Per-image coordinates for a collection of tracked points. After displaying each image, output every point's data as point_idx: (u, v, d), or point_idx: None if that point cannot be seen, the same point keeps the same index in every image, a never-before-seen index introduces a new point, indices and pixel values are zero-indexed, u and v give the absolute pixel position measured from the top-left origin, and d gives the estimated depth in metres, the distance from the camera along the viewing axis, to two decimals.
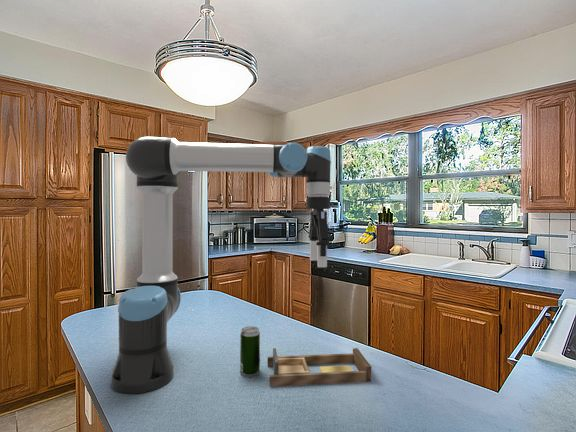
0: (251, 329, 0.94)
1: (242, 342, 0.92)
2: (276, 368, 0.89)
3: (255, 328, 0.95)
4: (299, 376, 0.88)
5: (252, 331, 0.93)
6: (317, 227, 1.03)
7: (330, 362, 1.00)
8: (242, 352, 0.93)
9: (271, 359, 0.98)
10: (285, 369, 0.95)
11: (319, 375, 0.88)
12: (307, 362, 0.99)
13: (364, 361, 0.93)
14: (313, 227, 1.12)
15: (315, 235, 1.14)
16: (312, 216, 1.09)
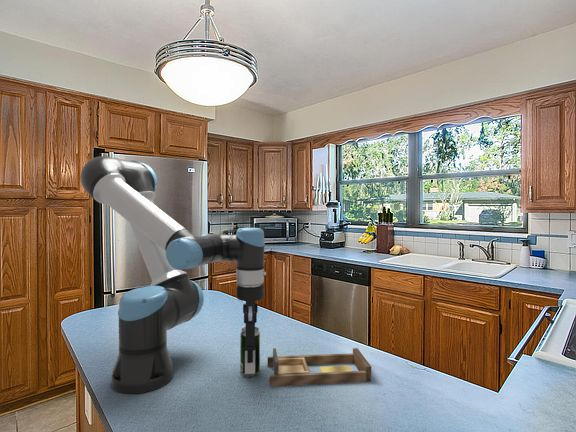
0: None
1: (242, 342, 0.92)
2: (276, 368, 0.89)
3: (255, 328, 0.95)
4: (299, 376, 0.88)
5: None
6: None
7: (330, 362, 1.00)
8: (242, 352, 0.93)
9: (271, 359, 0.98)
10: (285, 369, 0.95)
11: (319, 375, 0.88)
12: (307, 362, 0.99)
13: (364, 361, 0.93)
14: None
15: None
16: (244, 305, 0.95)
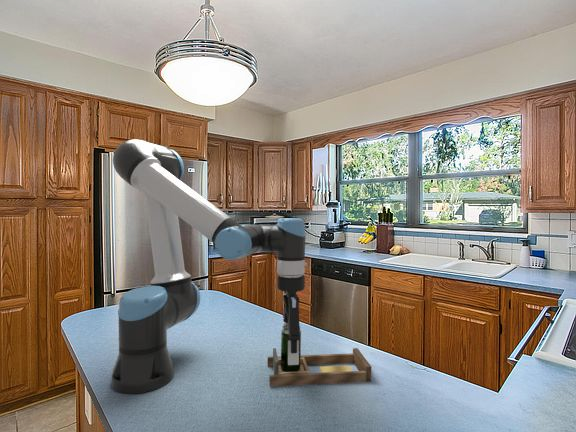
0: None
1: (284, 340, 0.92)
2: (276, 368, 0.89)
3: None
4: (299, 376, 0.88)
5: None
6: (288, 315, 0.89)
7: (330, 362, 1.00)
8: (284, 350, 0.92)
9: (271, 359, 0.98)
10: None
11: (319, 375, 0.88)
12: (307, 362, 0.99)
13: (364, 361, 0.93)
14: None
15: None
16: (284, 297, 0.94)
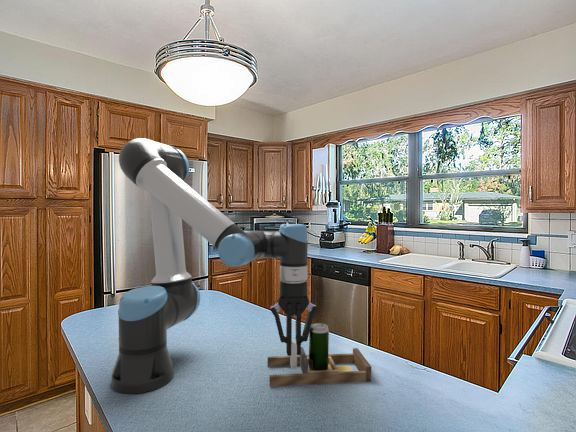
0: (320, 326, 0.95)
1: (312, 339, 0.93)
2: (306, 367, 0.90)
3: (323, 325, 0.96)
4: (299, 376, 0.88)
5: (322, 328, 0.93)
6: (286, 319, 0.94)
7: None
8: (312, 349, 0.93)
9: (271, 359, 0.98)
10: None
11: (319, 375, 0.88)
12: None
13: (364, 361, 0.93)
14: None
15: (296, 332, 0.93)
16: None
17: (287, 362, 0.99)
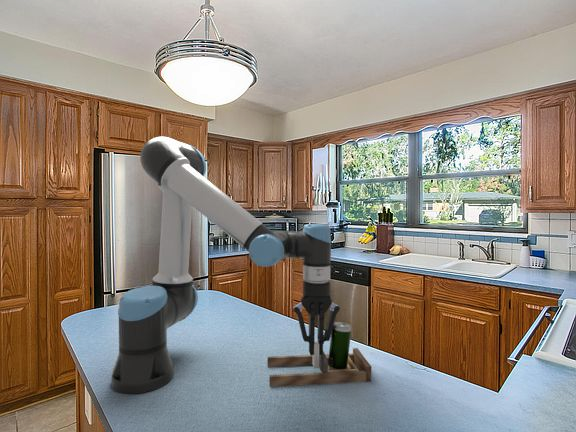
0: (342, 325, 0.95)
1: (335, 337, 0.93)
2: (326, 366, 0.90)
3: (345, 324, 0.96)
4: (299, 376, 0.88)
5: (345, 327, 0.94)
6: None
7: None
8: (334, 346, 0.93)
9: (271, 359, 0.98)
10: None
11: (319, 375, 0.88)
12: (307, 362, 0.99)
13: (364, 361, 0.93)
14: None
15: (318, 332, 0.94)
16: None
17: (287, 362, 0.99)
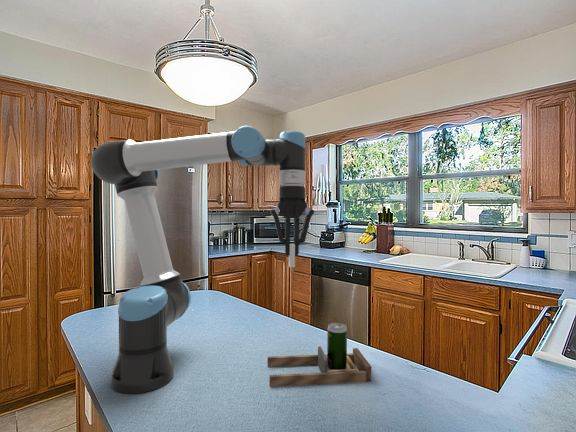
0: (338, 325, 0.95)
1: (331, 338, 0.93)
2: (325, 366, 0.90)
3: (341, 324, 0.96)
4: (299, 376, 0.88)
5: (341, 327, 0.93)
6: (285, 223, 1.01)
7: None
8: (331, 348, 0.93)
9: (271, 359, 0.98)
10: None
11: (319, 375, 0.88)
12: (307, 362, 0.99)
13: (364, 361, 0.93)
14: None
15: (294, 234, 1.00)
16: None
17: (287, 362, 0.99)
